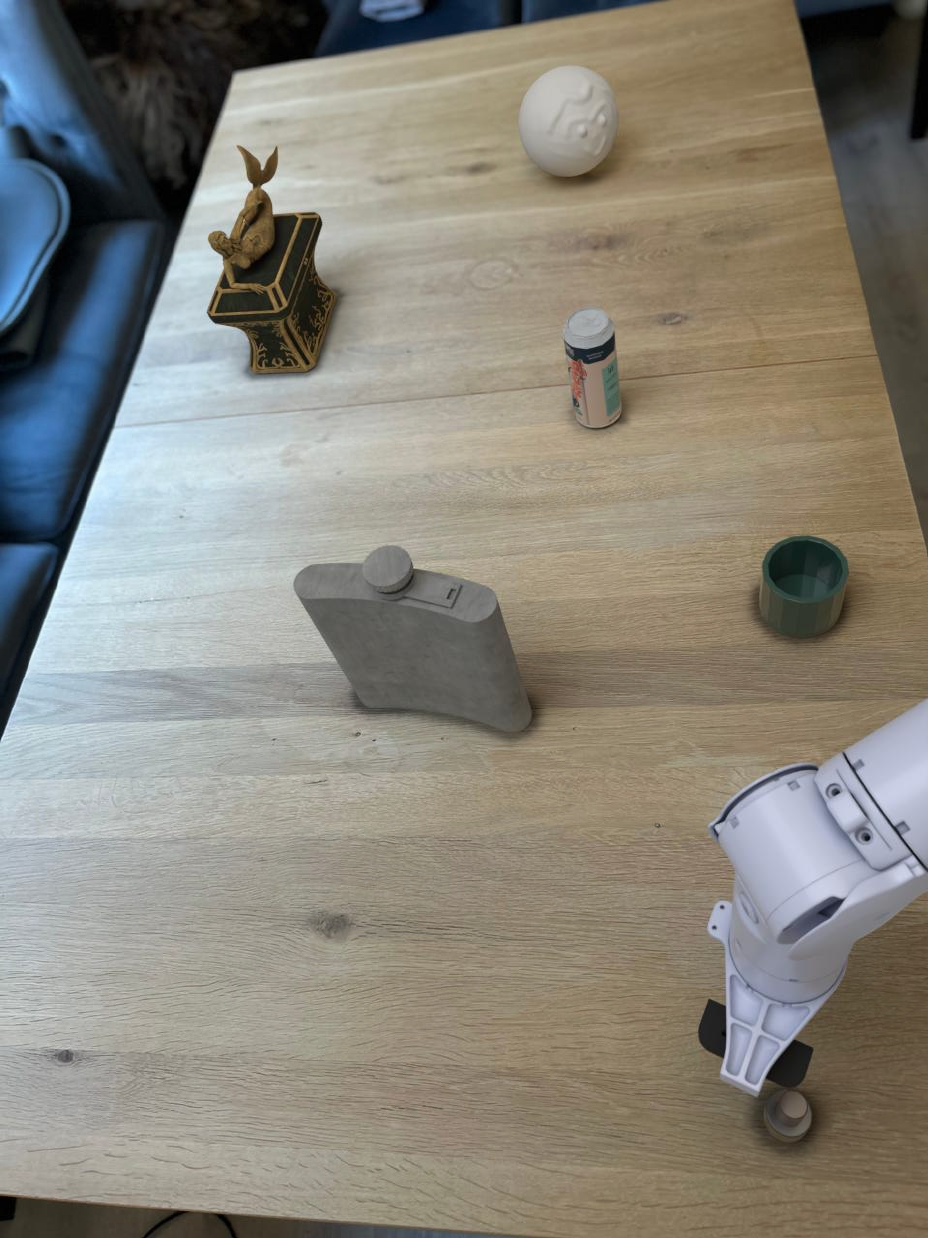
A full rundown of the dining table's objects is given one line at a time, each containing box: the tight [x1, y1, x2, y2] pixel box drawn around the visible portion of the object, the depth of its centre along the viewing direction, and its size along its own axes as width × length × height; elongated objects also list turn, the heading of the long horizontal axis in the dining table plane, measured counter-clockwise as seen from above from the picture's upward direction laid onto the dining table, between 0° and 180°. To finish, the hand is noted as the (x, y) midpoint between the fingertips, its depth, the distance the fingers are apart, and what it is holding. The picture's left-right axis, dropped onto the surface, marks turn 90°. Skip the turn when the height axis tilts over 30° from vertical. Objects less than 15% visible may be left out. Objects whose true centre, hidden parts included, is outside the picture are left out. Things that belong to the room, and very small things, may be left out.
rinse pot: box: [758, 535, 850, 639], centre depth 82 cm, size 7×7×6 cm
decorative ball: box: [518, 64, 620, 178], centre depth 119 cm, size 12×12×12 cm
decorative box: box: [206, 144, 338, 374], centre depth 110 cm, size 20×10×20 cm, turn 171°
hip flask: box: [292, 544, 533, 734], centre depth 78 cm, size 16×4×20 cm, turn 74°
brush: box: [762, 1087, 814, 1144], centre depth 62 cm, size 3×3×7 cm
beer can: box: [562, 306, 623, 429], centre depth 96 cm, size 5×5×12 cm
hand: (774, 986), depth 59 cm, fingers open, 7 cm apart
